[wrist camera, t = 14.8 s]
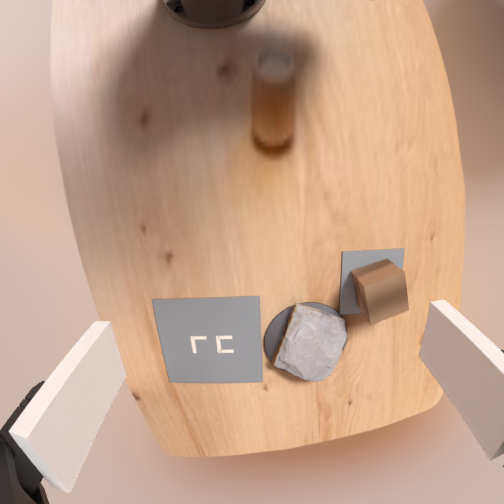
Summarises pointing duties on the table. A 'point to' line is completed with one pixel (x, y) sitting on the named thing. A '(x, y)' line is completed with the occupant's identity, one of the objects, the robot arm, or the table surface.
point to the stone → (310, 343)
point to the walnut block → (380, 290)
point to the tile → (358, 260)
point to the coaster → (279, 322)
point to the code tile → (211, 339)
